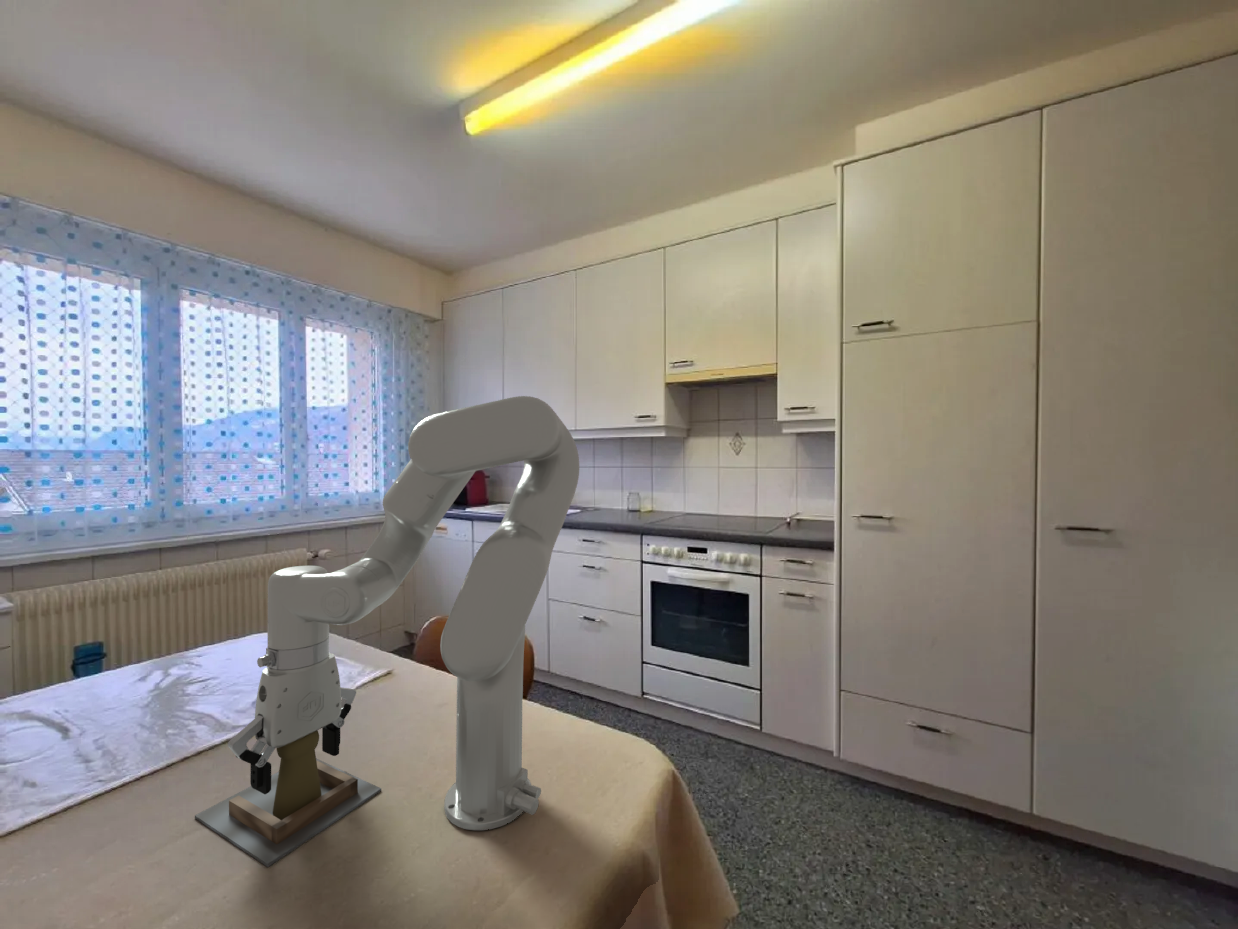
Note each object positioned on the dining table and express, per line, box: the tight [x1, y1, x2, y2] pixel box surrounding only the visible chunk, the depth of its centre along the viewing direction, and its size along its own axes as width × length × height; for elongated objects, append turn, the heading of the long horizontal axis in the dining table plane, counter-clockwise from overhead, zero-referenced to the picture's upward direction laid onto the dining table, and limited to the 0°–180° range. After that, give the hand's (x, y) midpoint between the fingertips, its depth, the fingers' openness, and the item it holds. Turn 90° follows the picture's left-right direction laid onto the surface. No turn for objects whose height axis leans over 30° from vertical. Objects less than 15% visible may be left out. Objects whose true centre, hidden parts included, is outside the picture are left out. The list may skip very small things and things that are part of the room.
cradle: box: [194, 758, 382, 868], centre depth 73 cm, size 18×16×2 cm
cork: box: [272, 730, 322, 820], centre depth 72 cm, size 6×6×11 cm
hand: (298, 770), depth 72 cm, fingers open, 9 cm apart
